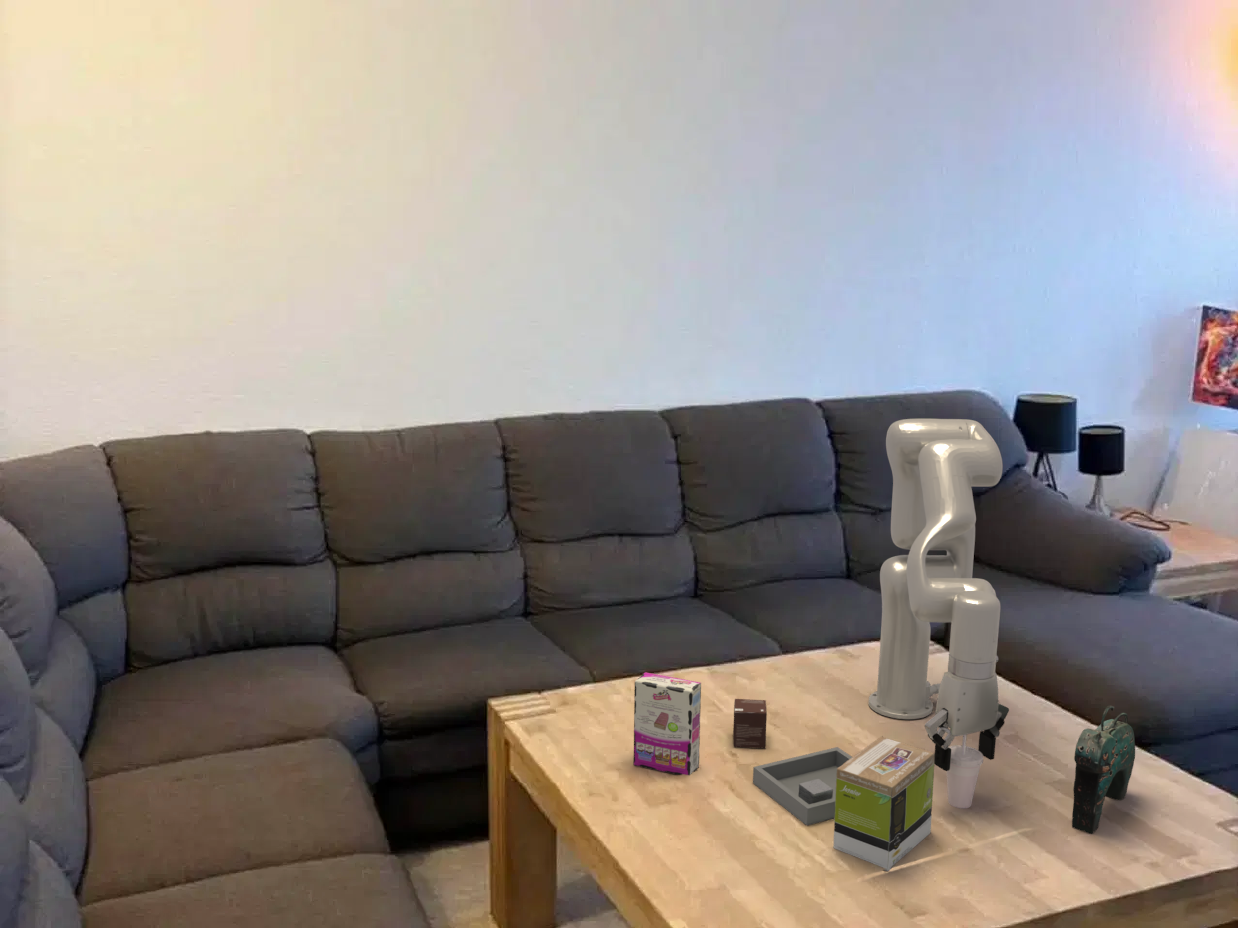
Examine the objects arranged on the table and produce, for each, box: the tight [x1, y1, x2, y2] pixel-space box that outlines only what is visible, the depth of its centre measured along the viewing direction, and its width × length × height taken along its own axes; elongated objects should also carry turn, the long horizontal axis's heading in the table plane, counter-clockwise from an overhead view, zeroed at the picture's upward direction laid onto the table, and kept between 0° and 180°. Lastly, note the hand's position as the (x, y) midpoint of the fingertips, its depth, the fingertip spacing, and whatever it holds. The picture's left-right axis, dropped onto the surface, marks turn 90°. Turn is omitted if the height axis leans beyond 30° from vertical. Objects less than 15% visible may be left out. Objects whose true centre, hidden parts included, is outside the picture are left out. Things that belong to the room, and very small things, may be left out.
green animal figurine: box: [1071, 705, 1136, 835], centre depth 208 cm, size 20×6×20 cm, turn 139°
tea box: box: [832, 735, 935, 872], centre depth 198 cm, size 15×10×15 cm, turn 141°
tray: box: [752, 746, 853, 826], centre depth 214 cm, size 18×16×4 cm
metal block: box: [798, 779, 833, 804], centre depth 208 cm, size 4×4×4 cm
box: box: [732, 698, 768, 749], centre depth 233 cm, size 6×6×7 cm
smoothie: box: [946, 734, 984, 809], centre depth 210 cm, size 6×6×14 cm
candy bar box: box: [632, 671, 702, 776], centre depth 222 cm, size 11×5×16 cm, turn 65°
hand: (964, 761), depth 209 cm, fingers open, 9 cm apart
